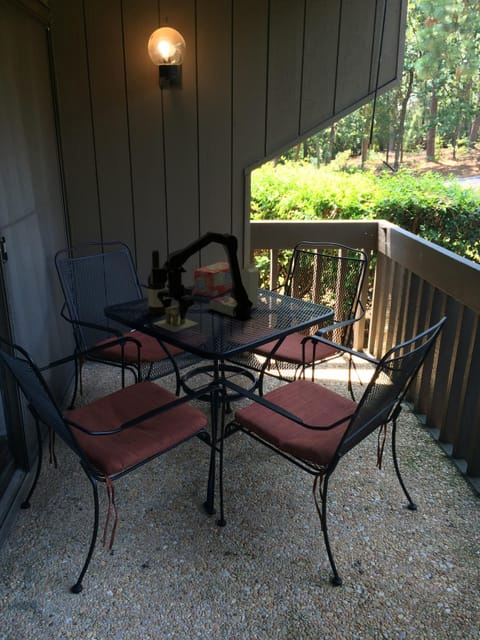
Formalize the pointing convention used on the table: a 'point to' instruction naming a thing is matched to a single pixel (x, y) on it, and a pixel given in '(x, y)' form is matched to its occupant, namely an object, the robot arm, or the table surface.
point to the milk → (251, 282)
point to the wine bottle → (155, 290)
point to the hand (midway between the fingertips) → (175, 316)
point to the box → (212, 280)
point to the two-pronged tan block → (173, 315)
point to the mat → (175, 328)
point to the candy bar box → (224, 305)
